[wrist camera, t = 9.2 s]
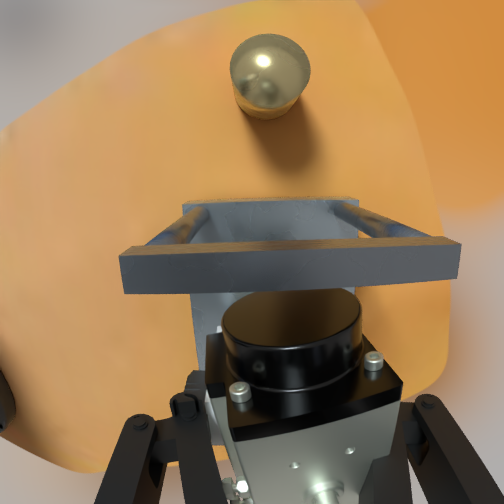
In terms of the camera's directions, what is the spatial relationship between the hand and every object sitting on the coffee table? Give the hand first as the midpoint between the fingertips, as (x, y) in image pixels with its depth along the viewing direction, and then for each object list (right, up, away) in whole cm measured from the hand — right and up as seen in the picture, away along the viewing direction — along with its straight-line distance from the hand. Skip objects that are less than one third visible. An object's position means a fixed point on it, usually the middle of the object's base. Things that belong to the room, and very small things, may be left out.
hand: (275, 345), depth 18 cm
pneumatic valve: (-1, 0, +1) cm, 1 cm away
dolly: (0, +1, +5) cm, 5 cm away
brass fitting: (0, +16, +1) cm, 16 cm away
